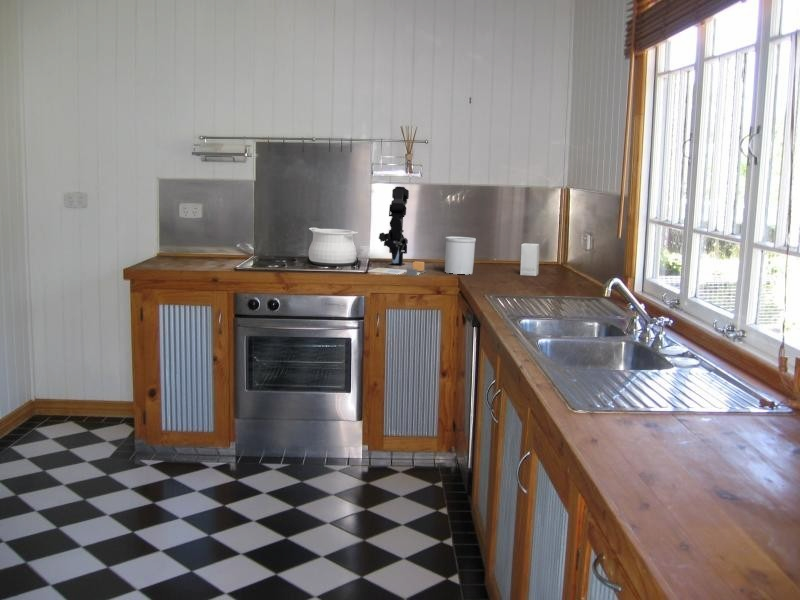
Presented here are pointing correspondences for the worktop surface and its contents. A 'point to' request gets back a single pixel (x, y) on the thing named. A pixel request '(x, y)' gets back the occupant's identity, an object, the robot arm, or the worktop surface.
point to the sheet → (388, 271)
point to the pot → (332, 247)
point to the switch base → (414, 272)
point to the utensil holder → (459, 255)
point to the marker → (396, 259)
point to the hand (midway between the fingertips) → (395, 259)
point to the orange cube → (418, 265)
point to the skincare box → (529, 259)
